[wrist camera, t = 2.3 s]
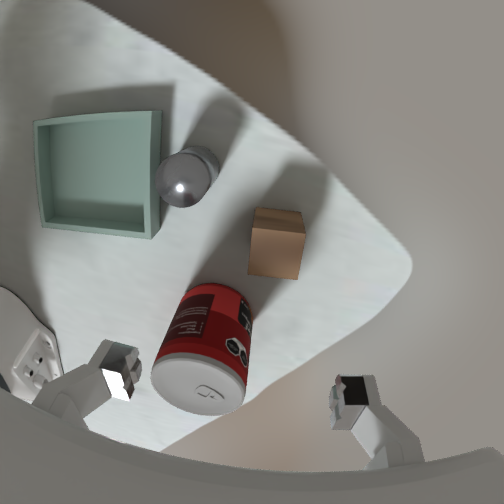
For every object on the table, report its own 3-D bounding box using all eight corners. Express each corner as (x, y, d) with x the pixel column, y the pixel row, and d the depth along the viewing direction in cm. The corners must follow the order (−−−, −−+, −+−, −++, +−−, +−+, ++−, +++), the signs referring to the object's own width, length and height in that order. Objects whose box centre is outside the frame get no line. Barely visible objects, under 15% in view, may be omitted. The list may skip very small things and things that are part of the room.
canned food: (241, 345, 34) (231, 424, 25) (175, 325, 34) (146, 399, 24) (264, 294, 31) (258, 377, 21) (188, 270, 30) (153, 345, 21)
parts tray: (160, 229, 29) (151, 239, 26) (55, 218, 29) (42, 227, 27) (162, 110, 24) (151, 111, 21) (48, 118, 24) (33, 121, 22)
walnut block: (294, 252, 29) (297, 279, 24) (251, 247, 29) (247, 274, 24) (300, 212, 27) (305, 234, 23) (255, 206, 27) (252, 227, 23)
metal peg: (217, 192, 27) (206, 209, 22) (174, 188, 27) (155, 205, 22) (220, 147, 25) (209, 156, 20) (175, 145, 25) (155, 153, 21)
